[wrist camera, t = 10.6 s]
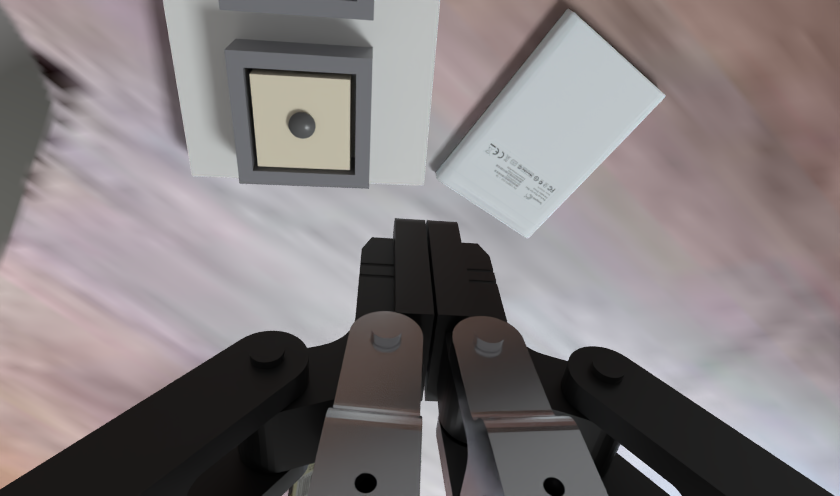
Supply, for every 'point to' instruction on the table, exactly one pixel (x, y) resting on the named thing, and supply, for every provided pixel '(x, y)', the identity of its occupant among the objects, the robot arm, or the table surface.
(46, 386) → the table surface
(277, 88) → the button one
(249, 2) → the button panel
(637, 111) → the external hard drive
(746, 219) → the table surface
